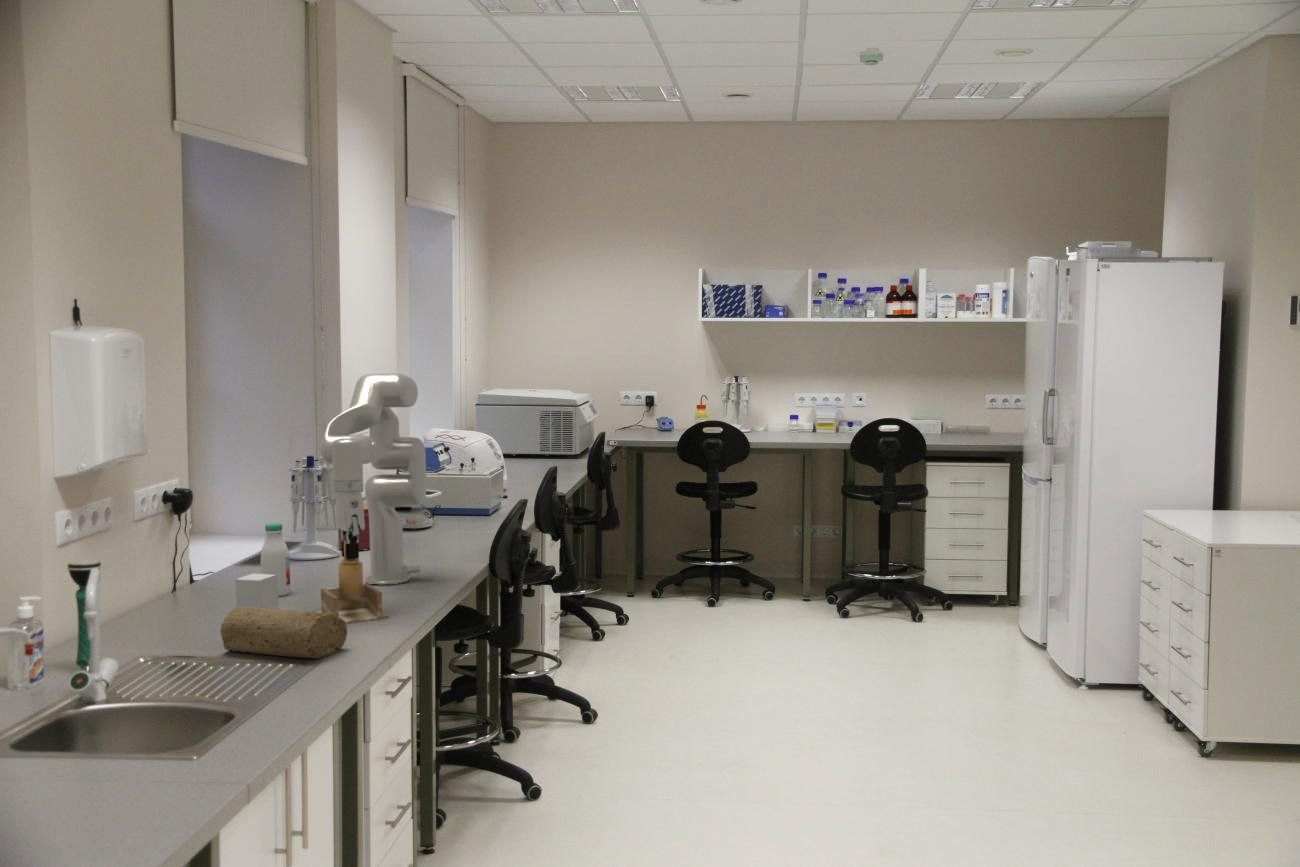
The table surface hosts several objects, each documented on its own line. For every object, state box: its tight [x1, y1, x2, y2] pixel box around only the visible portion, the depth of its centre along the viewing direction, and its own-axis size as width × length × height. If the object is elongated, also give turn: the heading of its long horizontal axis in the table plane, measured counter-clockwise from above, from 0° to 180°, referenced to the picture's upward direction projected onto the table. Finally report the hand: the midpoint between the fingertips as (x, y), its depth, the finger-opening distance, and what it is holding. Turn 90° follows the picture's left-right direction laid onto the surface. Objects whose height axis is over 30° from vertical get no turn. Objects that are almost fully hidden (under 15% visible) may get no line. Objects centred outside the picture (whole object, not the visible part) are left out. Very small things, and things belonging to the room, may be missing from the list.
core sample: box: [220, 606, 348, 659], centre depth 272 cm, size 14×26×10 cm, turn 71°
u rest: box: [316, 583, 389, 624], centre depth 306 cm, size 15×14×7 cm
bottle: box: [337, 534, 364, 595], centre depth 304 cm, size 6×6×15 cm
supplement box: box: [235, 573, 279, 609], centre depth 296 cm, size 7×7×13 cm
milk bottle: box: [260, 522, 292, 597], centre depth 332 cm, size 8×8×20 cm
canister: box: [337, 501, 370, 551], centre depth 403 cm, size 13×13×18 cm
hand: (350, 557), depth 304 cm, fingers closed on bottle, 3 cm apart
